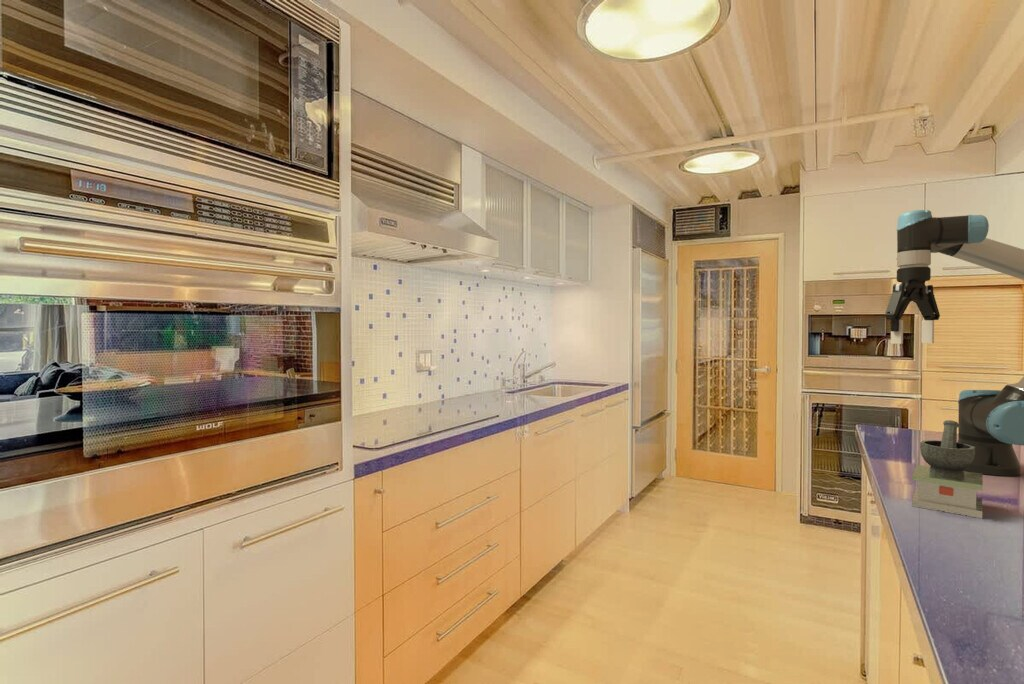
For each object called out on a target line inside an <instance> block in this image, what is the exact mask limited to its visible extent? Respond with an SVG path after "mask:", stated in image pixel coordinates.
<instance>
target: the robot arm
mask: <svg viewBox="0 0 1024 684" xmlns="http://www.w3.org/2000/svg"><path fill="white" fill-rule="evenodd" d="M896 227H897V228H896V240H897V241H896V242H897V245H896V246H897V247H896V249H897V250H896V251H897V252H896V254H897V255H896V267H897V268H898V269H897V270H896V281H897V282H896V284H895V283H893V285H892V292H891V296H890V298H889V301H888V304H887V307H886V309H885V312H884V317H885V319H886V320H887V321H890V345H891V344H893V345H894V344H896V345H898V344H899V345H903V344H904V319H902V318H903V315H904V314H905V312H906V311H907V308H908V306H909V305H910V303H911V302H913V303H915V304H916V306H917V308H918V310H919V312H920V314H921V316H922V317H923V320H921V344H935V342H934V341H935V321H939V319H940V316H941V314H940V312H939V311H940V310H939V307H938V304H937V301H936V298H935V293H934V285H933V284H930V285H927V284H926V282H928V281H930V280H931V277H932V276H931V275H932V274H931V273H932V271H931V267H930V266H931V264H932V260H931V259H932V257H931V256H932V254H937V253H939V254H942V255H946V256H948V257H949V256H950V257H952V258H955V259H959V260H962V261H965V262H966V263H971V264H974V265H976V266H979V267H982V268H986V269H989V270H992V271H995V272H997V273H1001V274H1004V275H1007V276H1010V277H1013V278H1016V279H1019V280H1022V281H1024V248H1020V247H1018V246H1017V247H1016V246H1013V245H1010V244H1007V243H1005V242H1000V241H997V240H995V239H991V238H987V236H988V234H989V227H990V224H989V219H988V218H987V217H986V216H985V215H983V214H977V215H976V214H975V215H974V214H967V215H954V216H941V217H934V216H933V215H932V211H931V210H929V209H915V210H909V211H904V212H902V213H901V214H900V215H898V218H897V226H896ZM957 404H958V421H957V423H958V424H959V427H957V438H958V439H957V443H962V444H967V445H970V446H973V447H975V455H974V459H973V461H972V462H971V464H970V465H969V466H968V467H967V468H965V469H964V470H963V471H966V472H973V473H981V474H982V475H983V474H984V475H989V476H1000V477H1001V476H1002V477H1006V476H1007V477H1010V476H1011V477H1014V476H1019V475H1021V463H1020V461H1019V459H1018V457H1017V454H1016V451H1015V449H1014V446H1013V445H1015V446H1024V376H1023V377H1022V378H1021V379H1020V380H1019V381H1018V382H1014V383H1010V384H1009V383H1008V384H1006V385H1005V386H1004V387H1003V388H1002V389H1001V390H1000V389H999V390H998V389H963V390H961V391H960V392H959V395H958V400H957Z"/></svg>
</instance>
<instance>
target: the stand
mask: <svg viewBox="0 0 1024 684" xmlns="http://www.w3.org/2000/svg"><path fill="white" fill-rule="evenodd" d="M930 467H931V466H930V465H929V466H928V465H919V464H917V465H915V468H914V470H913V473H912V475H911V476H912V478H911V480H912V481H916V482H917V487H916V488H915V491H914V494H913V497H912V498H911V507H914V508H919V509H920V508H921V509H926V510H931V509H932V511H937V510H940V511H939V512H942V511H945V512H944V513H948V512H951V513H950V514H954V513H956V514H955V515H959V514H961V515H960V516H965V515H967V516H966V517H971V518H977V519H983V498H982V497H977V491H982V492H983V491H984V485H983V483H984V482H983V480H984V479H983V474H981V473H975V472H970V471H965V470H963V471H964V477H963V478H949V477H942V476H937V475H933V474H931V473H929V471H930Z"/></svg>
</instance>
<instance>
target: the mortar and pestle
mask: <svg viewBox="0 0 1024 684" xmlns="http://www.w3.org/2000/svg"><path fill="white" fill-rule="evenodd" d="M942 424H943V431H942V437H941V440H935V439H933V440H922V441H920V442H919V450H920V455H921V457H922V458H923V460H924V462H926V464H928V465H929V467H930V471H929V473H931V474H933V475H937V476H942V477H949V478H963V477H964V471H965V470H964V469H965V468H967V467H968V466H969V465H970V464H971V462H972V461H973V459H974V455H975V447H973V446H970V445H967V444H962V443H957V442H958V439H957V438H958V427H959V424H958V421H954V420H949V419H948V420H944V421H943V423H942Z"/></svg>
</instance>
